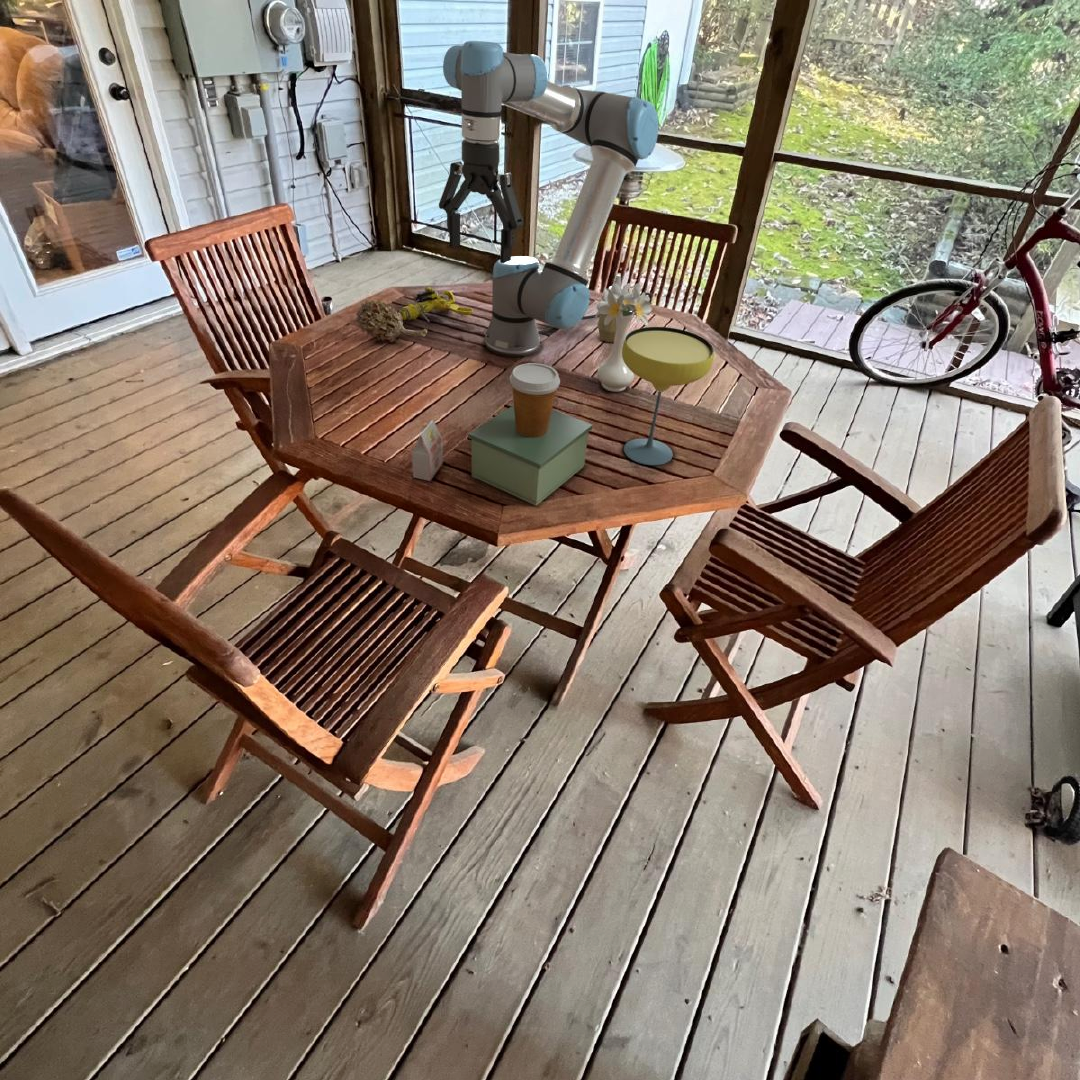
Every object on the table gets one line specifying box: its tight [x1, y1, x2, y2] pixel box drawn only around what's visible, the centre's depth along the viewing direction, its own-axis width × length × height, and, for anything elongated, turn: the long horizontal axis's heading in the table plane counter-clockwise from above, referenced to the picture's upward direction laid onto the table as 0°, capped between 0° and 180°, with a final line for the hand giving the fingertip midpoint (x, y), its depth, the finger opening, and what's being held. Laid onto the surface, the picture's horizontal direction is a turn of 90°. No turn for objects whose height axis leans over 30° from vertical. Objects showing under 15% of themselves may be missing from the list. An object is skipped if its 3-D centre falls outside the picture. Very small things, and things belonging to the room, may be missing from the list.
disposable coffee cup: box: [509, 362, 561, 437], centre depth 132 cm, size 10×10×12 cm
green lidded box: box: [467, 404, 594, 507], centre depth 139 cm, size 19×17×10 cm
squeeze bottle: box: [597, 274, 624, 343], centre depth 192 cm, size 8×8×18 cm
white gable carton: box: [411, 419, 444, 482], centre depth 137 cm, size 4×7×10 cm, turn 165°
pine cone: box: [355, 299, 428, 343], centre depth 183 cm, size 22×10×10 cm, turn 70°
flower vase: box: [593, 282, 653, 393], centre depth 167 cm, size 13×18×25 cm
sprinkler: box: [399, 286, 474, 323], centre depth 200 cm, size 19×8×20 cm
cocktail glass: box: [622, 326, 715, 467], centre depth 143 cm, size 18×18×25 cm
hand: (479, 253), depth 146 cm, fingers open, 13 cm apart
